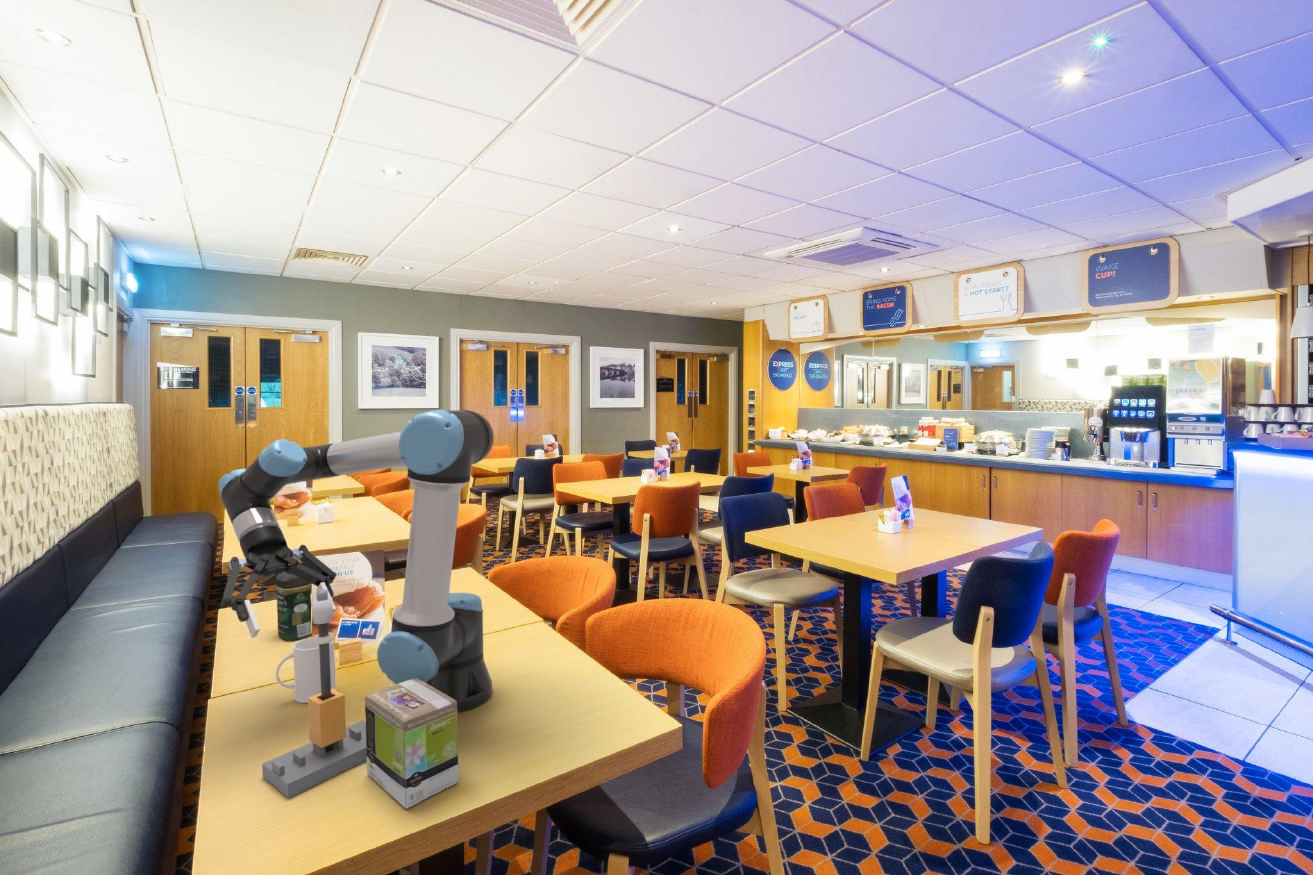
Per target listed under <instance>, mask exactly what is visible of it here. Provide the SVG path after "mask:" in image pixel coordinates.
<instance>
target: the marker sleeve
mask: <svg viewBox="0 0 1313 875" xmlns="http://www.w3.org/2000/svg"><path fill="white" fill-rule="evenodd" d="M345 700H346V699H345V694H343V693H341V692H339V691H338V690H337V691H336V690H334V689H331V698H329V699H326V700H323V701H322V700H321V693H319V694H317V695H314V696H311V697H308V703H307V705H308V707H307V708H308V709H307V710H308V728H309V730H308V731H309V734H308V735H309V741H310V743H311V742H313V743H314V744H316V745H317V746H319V747H320V748H323V747H325V746H328V745H330V744H332V743H335V742H337V741H339V740H341V739H344V738H346V727H347V726H346V703H345Z"/></svg>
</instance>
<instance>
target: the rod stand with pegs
mask: <svg viewBox="0 0 1313 875" xmlns="http://www.w3.org/2000/svg"><path fill="white" fill-rule="evenodd" d="M333 603H334V601H333V597H329V596H328V590H319V591H316V597H315V598H313V599H311V607H312V621H313V625H318V634H316V635H315V636H313V637H314V641H315V644H319V654H320V679H321V700H322V701H323V700H326V699H329V698H331V677H330V652H329V642H331V641H333V638H334V633H333V632H329V630H330V629H329V628H330V627H329V623H330V622H332V621H334V613H333ZM366 762H367V749H366V721H364V720H360V721H357V722H356V723H354V724H351V725H349V726H346V738H344V739H341V740H339V741H337V742H335V743H332V744H330V745H328V746H325V747H323V748H320V747H319V746H317V745H316V744H314V743H313V742H311V741H310V742H309V743H307V744H305V745H302V746H300V747H298V748H296V749H293V750H291V751H287V753H284V754H281V755H280V756H276V757H274V758H272V759H269V760H268V761H266V762H265V761H264V762H262V764H261V765H262V768H261V769H262V778H263V779H264V780H265V781H266V782H268V783H269V784H270V785H271V786H272V785H273V787H274V788H275V789H276V790H277V791H278V792H279V793H281V794H282V795H284V797H285V798H287V799H291V798H294V797H295V796H297V795H299V794H301V793H303V792H305V791H308V790H309V789H311V788H313V787H316V786H317V785H319V784H322V783H324V782H325V781H327V780H329V779H332V778H333V777H336V776H338V775H340V774H342V773H344V772H345V771H348V770H351V769H353V768H354V767H356V766H358V765H360V764H363V763H366Z"/></svg>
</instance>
